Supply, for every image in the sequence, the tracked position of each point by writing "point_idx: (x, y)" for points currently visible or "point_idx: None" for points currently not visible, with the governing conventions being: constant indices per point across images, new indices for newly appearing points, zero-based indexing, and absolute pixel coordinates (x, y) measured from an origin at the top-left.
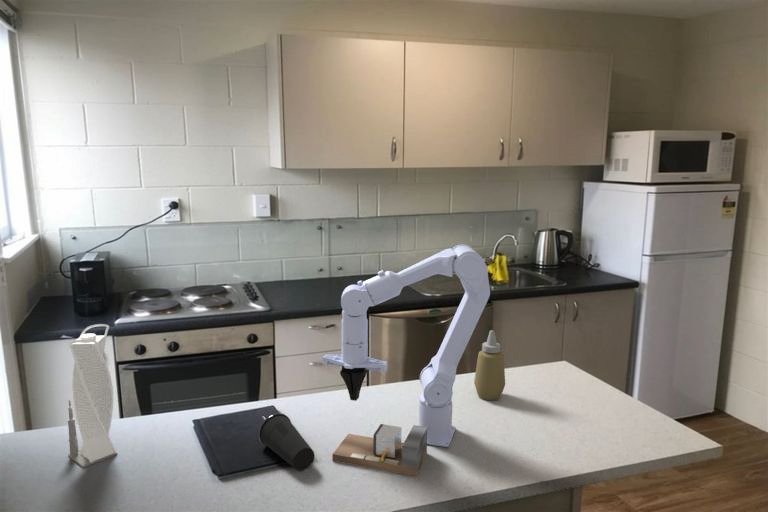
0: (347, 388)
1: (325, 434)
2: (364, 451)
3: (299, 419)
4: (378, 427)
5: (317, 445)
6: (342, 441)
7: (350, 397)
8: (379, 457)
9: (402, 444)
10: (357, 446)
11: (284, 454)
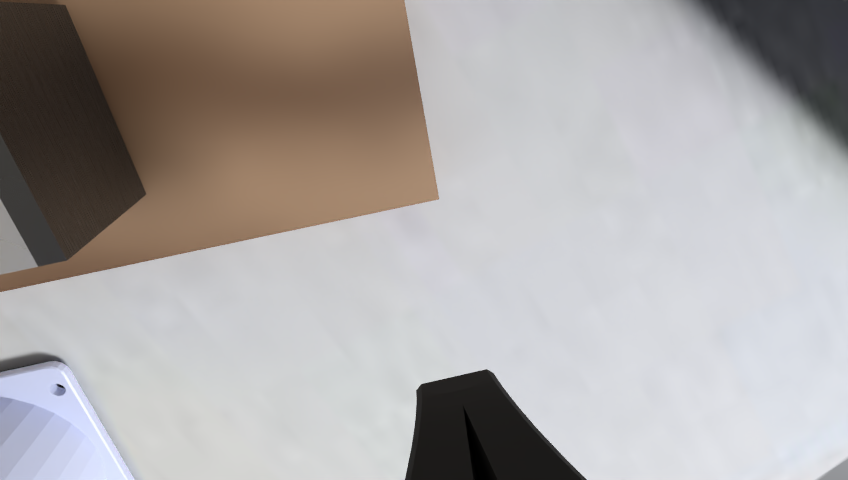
0: (579, 474)
1: (597, 170)
2: (178, 30)
3: (814, 239)
4: (26, 184)
5: (582, 17)
6: (416, 80)
7: (491, 387)
8: None
9: None
10: (274, 72)
11: None
